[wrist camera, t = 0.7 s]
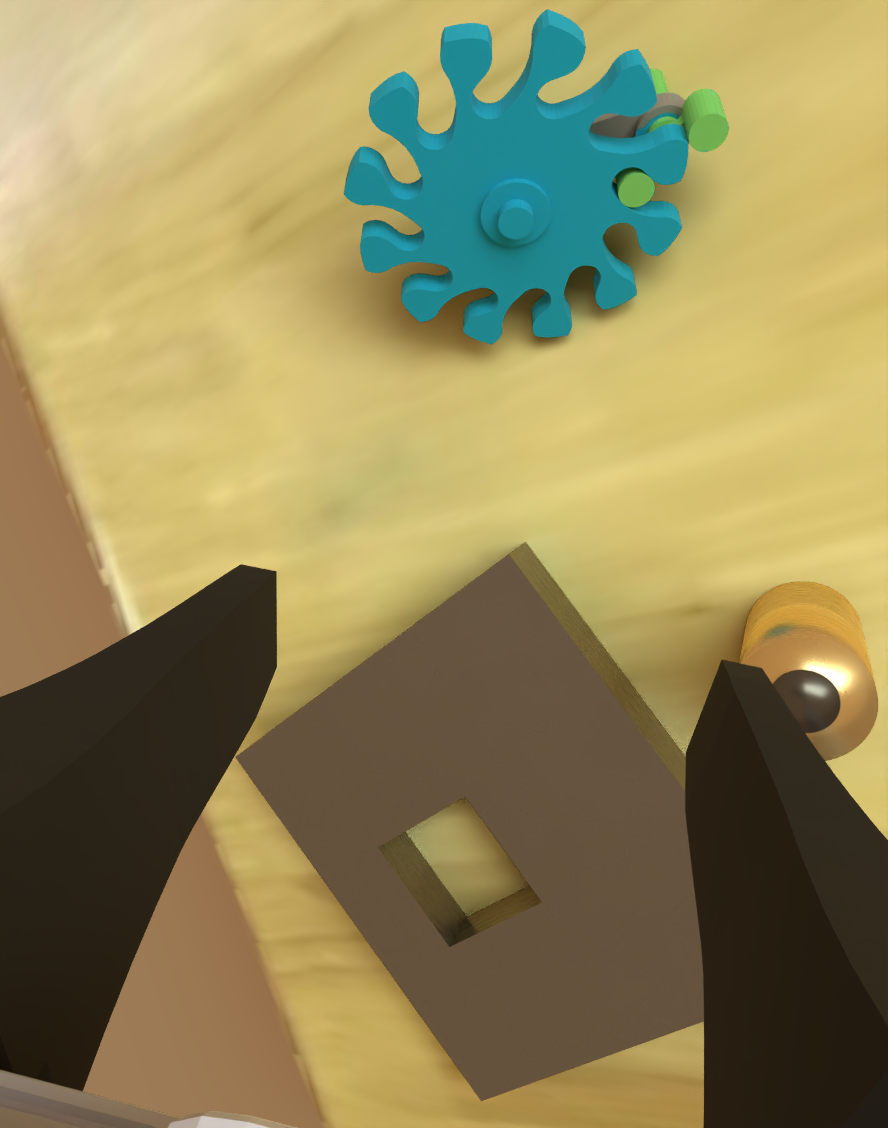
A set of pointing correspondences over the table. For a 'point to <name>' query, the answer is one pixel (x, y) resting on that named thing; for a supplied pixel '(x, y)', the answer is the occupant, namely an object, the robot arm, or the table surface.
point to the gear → (529, 178)
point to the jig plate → (503, 829)
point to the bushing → (815, 662)
